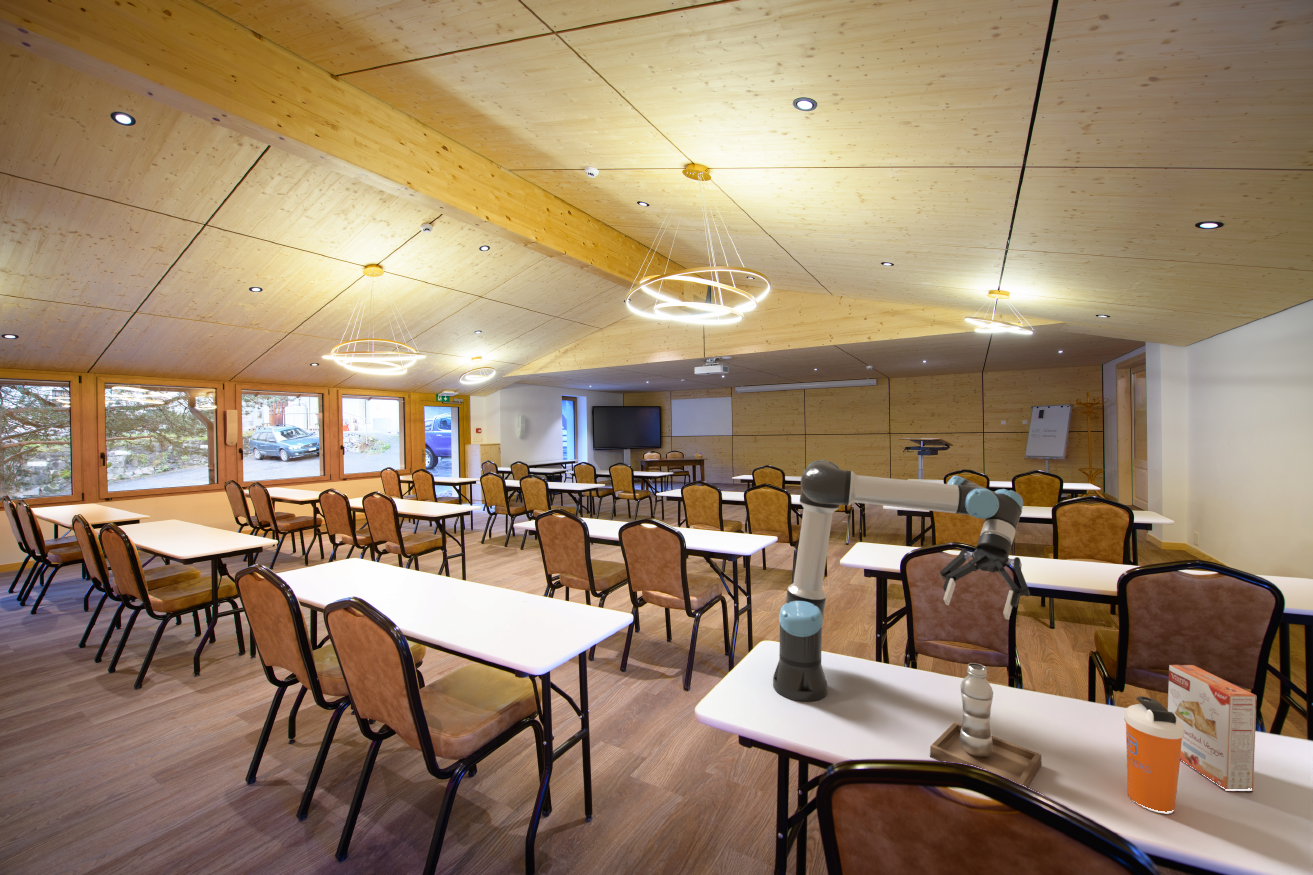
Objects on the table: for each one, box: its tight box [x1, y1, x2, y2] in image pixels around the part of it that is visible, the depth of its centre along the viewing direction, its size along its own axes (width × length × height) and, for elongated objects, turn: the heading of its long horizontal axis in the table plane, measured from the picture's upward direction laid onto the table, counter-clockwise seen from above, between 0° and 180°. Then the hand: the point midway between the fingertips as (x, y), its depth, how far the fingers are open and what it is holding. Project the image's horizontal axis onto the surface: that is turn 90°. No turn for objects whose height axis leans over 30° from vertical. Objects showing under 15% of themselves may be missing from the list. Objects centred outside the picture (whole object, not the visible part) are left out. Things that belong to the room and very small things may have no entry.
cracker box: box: [1167, 664, 1258, 790], centre depth 120 cm, size 14×6×21 cm, turn 178°
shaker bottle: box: [1123, 695, 1184, 812], centre depth 110 cm, size 9×9×20 cm
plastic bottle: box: [960, 662, 994, 757], centre depth 125 cm, size 6×7×20 cm
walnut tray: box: [929, 721, 1042, 788], centre depth 124 cm, size 18×15×2 cm
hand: (974, 609), depth 137 cm, fingers open, 13 cm apart
